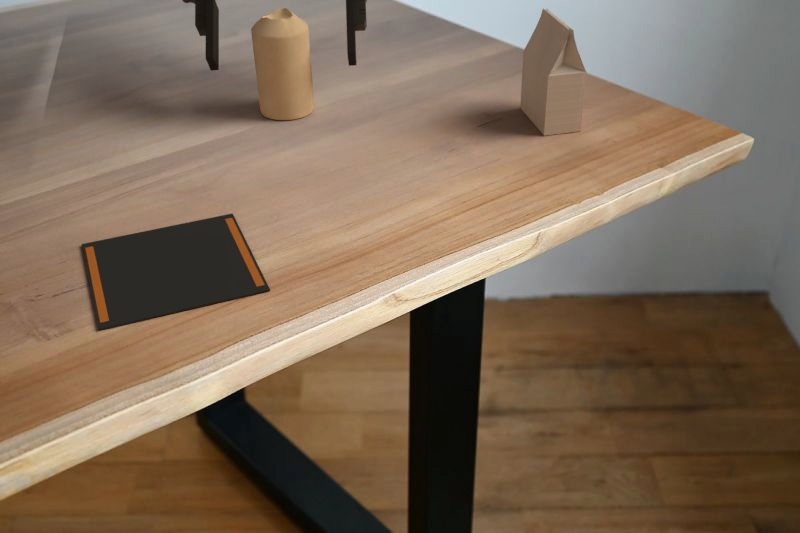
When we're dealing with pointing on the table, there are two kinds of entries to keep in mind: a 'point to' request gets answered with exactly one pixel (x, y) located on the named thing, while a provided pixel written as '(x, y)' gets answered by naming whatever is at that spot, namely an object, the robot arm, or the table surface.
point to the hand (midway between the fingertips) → (282, 62)
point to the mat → (170, 270)
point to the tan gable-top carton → (553, 78)
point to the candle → (283, 65)
